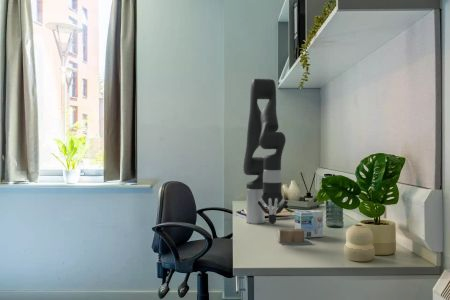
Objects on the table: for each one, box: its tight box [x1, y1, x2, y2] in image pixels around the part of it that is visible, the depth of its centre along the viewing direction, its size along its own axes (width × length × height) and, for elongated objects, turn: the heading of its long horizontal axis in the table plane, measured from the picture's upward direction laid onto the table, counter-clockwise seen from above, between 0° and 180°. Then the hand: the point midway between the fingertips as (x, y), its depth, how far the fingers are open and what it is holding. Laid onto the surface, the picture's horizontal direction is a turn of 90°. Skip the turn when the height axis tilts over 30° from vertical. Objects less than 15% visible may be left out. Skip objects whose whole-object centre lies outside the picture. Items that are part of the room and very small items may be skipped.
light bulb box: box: [294, 209, 324, 239], centre depth 173 cm, size 11×7×11 cm, turn 105°
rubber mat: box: [280, 238, 313, 246], centre depth 164 cm, size 10×12×1 cm
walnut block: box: [276, 228, 304, 244], centre depth 164 cm, size 4×4×10 cm
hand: (272, 223), depth 163 cm, fingers closed
